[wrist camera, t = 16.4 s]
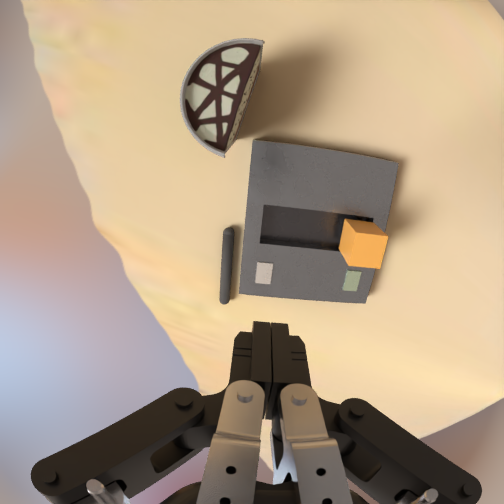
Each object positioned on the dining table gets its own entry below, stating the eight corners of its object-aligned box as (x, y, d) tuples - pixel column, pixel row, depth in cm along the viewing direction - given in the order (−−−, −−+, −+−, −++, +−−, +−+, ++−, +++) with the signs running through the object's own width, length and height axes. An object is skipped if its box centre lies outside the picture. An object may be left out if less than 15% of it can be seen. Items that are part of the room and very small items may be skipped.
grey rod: (224, 225, 40) (222, 229, 38) (235, 226, 40) (234, 230, 38) (219, 300, 44) (218, 305, 43) (229, 301, 44) (228, 306, 43)
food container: (215, 46, 31) (199, 21, 21) (264, 59, 31) (264, 36, 22) (185, 137, 35) (159, 142, 26) (232, 151, 36) (222, 160, 27)
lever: (341, 214, 38) (355, 232, 32) (370, 218, 38) (388, 236, 32) (335, 243, 39) (348, 265, 33) (363, 247, 39) (379, 268, 33)
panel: (253, 139, 35) (252, 140, 33) (392, 160, 35) (399, 163, 33) (239, 286, 43) (238, 294, 41) (361, 296, 43) (365, 304, 41)
